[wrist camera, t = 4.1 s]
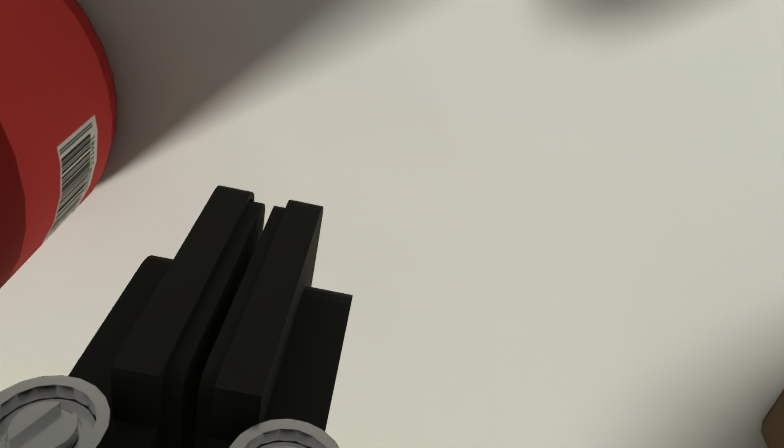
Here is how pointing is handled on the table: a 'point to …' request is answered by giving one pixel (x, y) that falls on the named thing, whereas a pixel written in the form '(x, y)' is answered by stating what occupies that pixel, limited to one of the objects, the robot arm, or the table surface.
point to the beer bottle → (774, 424)
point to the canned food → (48, 121)
